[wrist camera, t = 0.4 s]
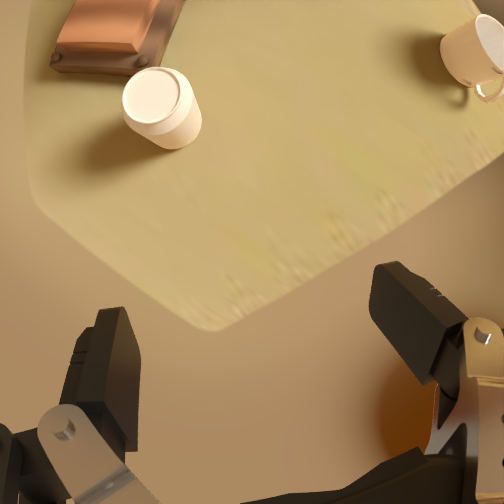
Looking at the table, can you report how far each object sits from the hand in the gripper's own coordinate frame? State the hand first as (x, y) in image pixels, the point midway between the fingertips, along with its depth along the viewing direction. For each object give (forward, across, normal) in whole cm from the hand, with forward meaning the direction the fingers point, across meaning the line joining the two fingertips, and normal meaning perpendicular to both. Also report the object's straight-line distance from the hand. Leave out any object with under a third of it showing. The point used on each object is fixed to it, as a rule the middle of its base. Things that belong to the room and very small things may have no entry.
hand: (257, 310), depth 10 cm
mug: (+28, -39, -13) cm, 49 cm away
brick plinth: (+35, +9, -18) cm, 40 cm away
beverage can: (+30, +2, -4) cm, 30 cm away
